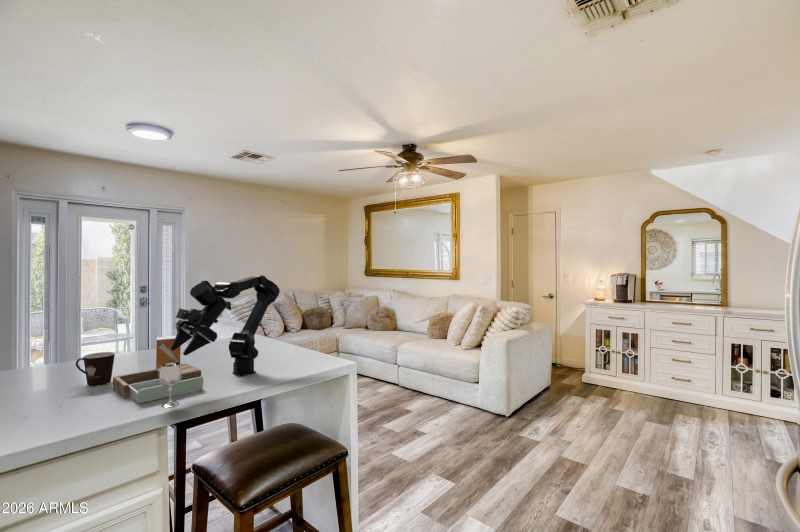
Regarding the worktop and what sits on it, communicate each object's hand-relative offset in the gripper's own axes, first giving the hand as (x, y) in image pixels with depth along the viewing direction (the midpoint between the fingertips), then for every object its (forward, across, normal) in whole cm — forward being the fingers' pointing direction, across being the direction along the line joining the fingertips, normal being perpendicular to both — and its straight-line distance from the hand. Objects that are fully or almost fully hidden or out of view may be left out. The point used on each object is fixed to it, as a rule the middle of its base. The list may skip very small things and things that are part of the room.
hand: (177, 352), depth 119 cm
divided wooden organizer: (+11, -15, +9) cm, 20 cm away
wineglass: (+14, +8, +5) cm, 16 cm away
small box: (+5, -32, +17) cm, 36 cm away
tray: (+11, -5, +8) cm, 15 cm away
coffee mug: (+19, -34, 0) cm, 39 cm away
